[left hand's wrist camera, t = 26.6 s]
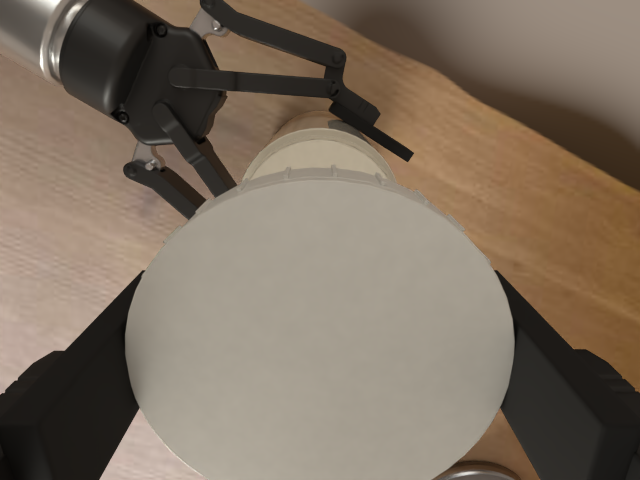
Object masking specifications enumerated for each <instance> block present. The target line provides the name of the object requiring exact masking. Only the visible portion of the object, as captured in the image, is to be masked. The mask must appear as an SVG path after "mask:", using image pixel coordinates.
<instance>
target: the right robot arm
mask: <svg viewBox="0 0 640 480" xmlns="http://www.w3.org/2000/svg"><path fill="white" fill-rule="evenodd" d="M200 5H201V9H200V11H199V12H198V14H197V16H196V17H195V19H194V21H193V22H192V24H191V26H190V27H189V28H187V27H176V26H173V25H172V24H170V23H168V22H167V21H165V20H164V19H162V18H160V17H159V16H157V15H156V14H154V13H153V12H151V11H149V10H148V9H146V8H145V7H143V6H142V5H140V4H138V3H137V2H135V1H134V0H0V54H1V55H3V56H5V57H6V58H8V59H10V60H11V61H13V62H15V63H17V64H18V65H20V66H22V67H23V68H25V69H27V70H29V71H30V72H32V73H34V74H35V75H37V76H39V77H41V78H42V79H44V80H46V81H47V82H49V83H51V84H53V85H54V86H59V87H64V88H65V90H66V91H67V92H68V93H69V94H70V95H72V96H74V97H76V98H77V99H79V100H81V101H82V102H84V103H86V104H88V105H89V106H91V107H93V108H95V109H96V110H98V111H100V112H102V113H103V114H105V115H107V116H108V117H110V118H112V119H114V120H116V121H118V122H119V123H121V124H123V125H125V126H126V127H127V128H128V129H129V130H130V131H131V132H132V133H133V135H134V136H135V138H136V139H137V140H138V143H137V146H136V149H135V152H134V155H133V159H132V161H131V162H129V163H127V164H126V165H125V166H124V168H123V172H124V174H125V176H126V177H128V178H129V179H131V180H134V181H136V182H138V183H141V184H143V185H145V186H148V187H150V188H152V189H153V190H154V191H155V192H157V193H158V194H159V195H160V196H161V197H162V198H164V199H165V200H166V201H167V202H168V203H169V204H171V205H172V206H173V207H174V208H175V209H176V210H178V211H179V212H180V213H181V214H182V215H183V216H184V217H186V218H187V219H188V220H190V219H191V218H192V217H193V216H194V215H195V214H196V212H195V211H196V210H197V209H198V208H199V207H200V206H201V205H202V204H203V203H204V202H205V201H206V199H205V198H204V197H203V196H201V195H200V194H199V193H198V192H197V191H196V190H195V189H194V188H192V187H191V186H190V185H189V184H188V183H187V182H186V181H185V180H183V179H182V178H181V177H180V176H179V175H178V174H177V173H175V172H174V171H173V170H171V169H170V168H168V167H166V166H165V161H164V159H163V158H162V157H161V156H160V155H159V154H158V153H157V151H156V145H168V144H174V145H175V146H176V147H177V149H178V150H179V152H180V153H181V154H182V156H183V157H184V159H185V160H186V161H187V162H188V163H190V164H191V165H192V166H193V167H194V168H195V170H196V171H197V173H198V174H199V176H200V177H201V178H202V180H203V181H204V183H205V184H206V185H207V187H208V188H209V190H210V191H211V192H212V194H213V195H214V197H215V198H216V197H218V196H220V195H221V194H223V193H225V192H227V191H229V190H230V189H232V188H234V187H236V186H237V184H236V183H235V181H234V180H233V178H232V177H231V175H230V174H229V173H228V171H227V170H226V168H225V167H224V165H223V164H222V162H221V161H220V159H219V158H218V156H217V155H216V154H215V152H214V150H213V147H212V145H211V143H210V142H209V140H208V139H207V137H206V136H205V135H207V134H209V132H210V130H211V128H212V126H213V123H214V118H215V114H216V113H217V112H218V110H219V109H220V108H221V107H222V106H223V104H224V103H225V101H226V99H227V97H228V96H226V91H241V92H254V93H267V94H280V95H293V96H307V97H320V98H329V99H331V100H332V101H333V103H332V105H331V106H330V108H329V112H330V113H332V114H333V115H335V116H336V117H338V118H340V119H341V120H343V121H344V122H346V123H347V124H349V125H351V126H352V127H354V128H355V129H357V130H358V131H360V132H361V133H363V134H365V135H366V136H368V137H369V138H371V139H372V140H374V141H375V142H377V143H379V144H380V145H382V146H383V147H385V148H386V149H388V150H389V151H391V152H393V153H394V154H396V155H397V156H399V157H400V158H402V159H403V160H405V161H407V162H408V161H409V160H410V158H411V157H412V155H413V154H414V153H413V152H412V151H411V150H409V149H408V148H406V147H405V146H403V145H402V144H400V143H399V142H397V141H396V140H394V139H393V138H391V137H390V136H388V135H386V134H385V133H383V132H382V131H380V130H379V129H377V128H376V127H374V126H373V125H374V124H375V122H376V120H377V119H378V117H379V116H380V112H379V111H378V109H377V108H376V107H375V106H373V105H372V104H370V103H369V102H367V101H366V100H364V99H363V98H361V97H360V96H358V95H357V94H355V93H354V92H352V91H351V90H349V89H348V88H346V87H345V85H344V83H343V79H342V78H343V72H344V67H345V62H346V54H345V52H344V51H343V50H341V49H340V48H337V47H334V46H331V45H328V44H325V43H323V42H320V41H317V40H314V39H311V38H309V37H306V36H303V35H300V34H297V33H294V32H292V31H289V30H286V29H283V28H280V27H278V26H275V25H272V24H269V23H266V22H264V21H261V20H258V19H255V18H252V17H249V16H247V15H244V14H241V13H238V12H236V11H235V10H234V9H233V8H231V7H230V6H229V5H228V4H227V3H225V2H224V1H223V0H200ZM230 31H232V32H234V33H235V34H237V35H239V36H241V37H243V38H246V39H249V40H252V41H254V42H257V43H260V44H263V45H266V46H269V47H272V48H274V49H277V50H280V51H283V52H286V53H289V54H292V55H294V56H297V57H300V58H303V59H306V60H309V61H312V62H315V63H317V64H320V65H323V66H326V69H325V74H324V79H323V78H310V77H297V76H284V75H271V74H258V73H245V72H233V71H220V70H219V68H218V66H217V64H216V61H215V59H214V57H213V55H212V53H211V51H210V49H209V46H208V44H207V42H206V40H205V39H206V38H207V37H208V36H210V35H216V36H218V37H226V36H228V34H229V33H230Z"/></svg>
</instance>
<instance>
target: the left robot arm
mask: <svg viewBox="0 0 640 480" xmlns="http://www.w3.org/2000/svg"><path fill="white" fill-rule="evenodd" d="M145 271H146V270H142V272H141V273H140V274H139V275H138V276H137V277H136V278H135V279H134V280H133V281H132V282H131V283H130V284H129V285H128V286H127V287H126V288H125V289H124V290H123V291H122V292H121V293H120V294H119V295H118V296H117V297H116V298H115V299H114V300H113V302H112V303H111V304H110V305H109V306H108V307H107V308H106V309H105V310H104V311H103V312H102V313H101V314H100V315H99V316H98V317H97V318H96V319H95V320H94V321H93V322H92V323H91V324H90V325H89V326H88V327H87V328H86V329H85V330H84V332H83V333H82V334H81V335H80V336H79V337H78V338H77V339H76V340H75V341H74V342H73V343H72V344H71V345H70V346H69V347H68V348H67V349H66V350H65V351H53V352H51V353H50V354H48V355H46V356H45V357H43V358H41V359H39V360H38V361H36V362H34V363H33V364H32V365H31V366H30V367H29V368H28V369H27V370H26V371H25V372H24V373H23V374H21V375H20V376H19V377H18V380H17V381H14V382H13V383H12V384H11V385H10V386H9V387H8V388H7V389H6V390H5V393H2V394H1V395H0V480H99V479H100V477H101V476H102V474H103V472H104V470H105V468H106V467H107V465H108V463H109V461H110V459H111V458H112V456H113V454H114V452H115V451H116V449H117V447H118V445H119V443H120V442H121V440H122V438H123V436H124V435H125V433H126V431H127V429H128V427H129V426H130V424H131V422H132V420H133V419H134V417H135V415H136V413H137V411H138V410H139V408H140V407H139V405H138V403H137V401H136V399H135V396H134V393H133V390H132V387H131V383H130V378H129V372H128V367H127V361H126V356H125V332H126V325H127V319H128V312H129V309H130V306H131V303H132V300H133V297H134V294H135V290H136V288H137V286H138V284H139V282H140V281H141V279H142V277H141V276H142V274H143V273H144V272H145ZM494 271H495V273H496V275H497V276H498V279H499V281H500V283H501V285H502V288H503V290H504V292H505V294H506V297H507V300H508V304H509V307H510V311H511V315H512V319H513V328H514V338H515V348H514V359H513V365H512V370H511V375H510V380H509V385H508V389H507V392H506V394H505V397H504V399H503V402H502V405H501V406H500V408H501V410H502V412H503V414H504V415H505V417H506V419H507V421H508V423H509V424H510V426H511V428H512V430H513V431H514V433H515V435H516V437H517V439H518V440H519V442H520V444H521V446H522V448H523V449H524V451H525V453H526V455H527V456H528V458H529V460H530V462H531V464H532V465H533V467H534V469H535V471H536V472H537V474H538V476H539V478H540V480H640V393H639V392H636V391H635V388H634V387H633V386H632V385H631V384H630V383H629V382H627V381H626V380H625V379H622V376H621V375H620V374H619V373H618V372H617V371H616V370H615V369H614V368H613V367H612V366H611V365H610V364H609V363H608V362H606V361H605V360H603V359H601V358H600V357H598V356H596V355H595V354H593V353H591V352H589V351H588V350H586V349H573V348H572V347H571V346H570V345H569V344H568V343H567V342H566V341H565V340H564V339H563V338H562V337H561V336H560V335H559V334H558V333H557V332H556V331H555V330H554V329H553V328H552V327H551V326H550V325H549V324H548V323H547V321H546V320H545V319H544V318H543V317H542V316H541V315H540V314H539V313H538V312H537V311H536V310H535V309H534V308H533V307H532V306H531V305H530V304H529V303H528V302H527V301H526V300H525V299H524V298H523V297H522V296H521V295H520V294H519V293H518V291H517V290H516V289H515V288H514V287H513V286H512V285H511V284H510V283H509V282H508V281H507V280H506V279H505V278H504V277H503V276H502V275H501V274H500V273H499V272H498V271H497V270H494ZM432 480H521V478H520V477H519V476H518V475H516V474H515V473H514V472H512V471H511V470H509V469H507V468H505V467H503V466H500V465H497V464H493V463H488V462H479V461H470V462H461V463H456V464H453V465H452V466H451V467H450V468H448V469H447V470H445V471H444V472H442V473H441V474H439V475H438V476H436V477H435V478H433V479H432Z"/></svg>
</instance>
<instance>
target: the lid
mask: <svg viewBox="0 0 640 480" xmlns="http://www.w3.org/2000/svg"><path fill="white" fill-rule="evenodd" d="M195 212H196V214H195V215H194V216H193V217H192V218H191V219H190V220H189V221H188V222H187V223H186V224H185V225H184V226H183V227H181V226H180V225H179V226H178V227H177V228H176V229H175V230H174V231H173V232H172V233H171V234H170V235H169V236H168V237H167V238H166V239H165V240H164V241H163V242H164V243H165V245H164V246H163V247H162V248H161V249H160V251H159V252H158V254H157V255H156V256H155V258H154V259H153V260H152V262H151V263H150V265H149V266H148V267H147V269H146V271H145V272H144V273H143V274H142V276H141V277H142V279H141V281H140V282H139V284H138V286H137V288H136V290H135V294H134V297H133V300H132V303H131V306H130V309H129V312H128V319H127V325H126V332H125V356H126V361H127V367H128V372H129V378H130V383H131V387H132V390H133V393H134V396H135V399H136V401H137V403H138V405H139V407H140V409H141V411H142V413H143V415H144V417H145V419H146V420H147V422H148V423H149V425H150V426H151V428H152V429H153V431H154V432H155V434H156V435H157V436H158V437H159V438H160V439H161V441H162V442H163V443H164V444H165V445H166V446H167V447H168V449H169V450H170V451H171V452H172V453H174V454H175V455H176V456H177V457H178V458H179V459H180V460H181V461H182V462H184V463H185V464H186V465H187V466H189V467H190V468H191V469H193V470H194V471H196V472H197V473H198V474H200V475H201V476H203V477H204V478H206V479H208V480H432V479H433V478H435V477H436V476H438V475H439V474H441V473H442V472H444V471H445V470H447V469H448V468H450V467H451V466H452V465H453V464H454V463H456V462H457V461H458V460H459V459H460V458H462V457H463V456H464V455H465V454H466V453H467V452H468V451H469V450H470V449H471V448H472V447H473V446H474V445H475V444H476V443H477V441H478V440H479V439H480V438H481V437H482V435H483V434H484V432H485V431H486V430H487V428H488V427H489V426H490V424H491V423H492V421H493V419H494V417H495V416H496V414H497V412H498V410H499V408H500V406H501V405H502V402H503V399H504V397H505V394H506V392H507V389H508V385H509V380H510V375H511V370H512V365H513V359H514V348H515V338H514V328H513V319H512V315H511V311H510V307H509V304H508V300H507V297H506V294H505V292H504V290H503V288H502V285H501V283H500V281H499V279H498V276H497V275H496V273H495V271H494V270H493V268H492V267H491V265H490V263H491V262H490V260H489V259H488V258H487V257H486V256H485V255H484V254H483V253H482V252H481V251H480V250H479V249H478V248H477V247H476V246H475V245H474V243H473V242H472V241H471V240H470V239H469V238H468V237H467V236H466V235H465V234H464V233H463V231H464V230H465V229H464V228H463V227H462V226H461V225H460V224H459V223H458V222H457V221H456V220H455V219H454V218H453V217H452V216H451V215H450V214H449V215H447V216H446V215H445V214H444V213H443V212H441V211H440V210H439V209H438V208H437V207H436V206H434V205H433V204H432V203H431V202H429V201H428V200H427V199H426V198H425V197H424V196H423V194H422V193H421V192H420V191H418V190H417V189H416V190H415V191H414V192H413V191H412V190H410V189H408V188H406V187H404V186H401V185H399V184H397V183H395V182H392V181H390V180H388V179H385V178H382V176H381V175H380V173H377V172H376V173H375V175H371V174H368V173H364V172H359V171H353V170H346V169H340V168H336V165H331V168H302V169H293V170H291V166H289V167H286V170H285V171H281V172H277V173H273V174H268V175H264V176H260V177H258V178H255V179H253V180H250V181H249V180H248V178H246V179H244V180H243V181H242V182H241V184H240V185H238V186H236V187H234V188H232V189H230V190H229V191H227V192H225V193H223V194H221V195H220V196H218V197H216V198H215V199H213V200H211V199H210V198H209V199H208V200H206V201H205V202H204V203H203V204H202V205H201V206H200V207H199V208H198V209H197V210H196V211H195Z"/></svg>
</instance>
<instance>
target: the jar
mask: <svg viewBox="0 0 640 480" xmlns="http://www.w3.org/2000/svg"><path fill="white" fill-rule="evenodd" d="M331 165H336V168H340V169H346V170H353V171H359V172H364V173H368V174H371V175H375V173H376V172H377V173H380V175H381V176H382V178H385V179H388V180H390V181H392V182H395V183H397V181H396V178H395V176H394V174H393V172H392V170H391V168H390V166H389V165H388V163H387V162H386V161H385V159H384V158H383V157H382V155H381V154H380V153H379V152H378V151H377V150H376V148H375V147H374V146H373V145H372V144H371V143H370V142H369V140H368V139H367V138H366V137H365V136H364V135H363V133H361V132H360V131H358V130H357V129H355V128H354V127H352V126H351V125H349V124H347V123H346V122H344V121H343V120H341V119H340V118H338V117H336V116H335V115H333V114H332V113H330V112H329V111H310V112H306V113H303V114H300V115H298V116H296V117H294V118H292V119H291V120H289V121H288V122H287V123H285V124H284V125H283V126H282V127H281V128H280V130H279V131H278V132H277V133H276V134H275V135H274V136H273V138H272V139H271V140H270V141H269V142H268V143H267V145H266V146H265V147H264V148H263V149H262V150H261V151H260V153H259V154H258V155H257V156H256V157H255V158H254V159H253V161H252V162H251V164H250V165H249V167H248V168H247V170H246V172H245V174H244V177H243V179H242V181H243V180H244V179H246V178H248V180H249V181H250V180H253V179H255V178H258V177H260V176H264V175H268V174H273V173H277V172H281V171H285V170H286V167H289V166H291V170H293V169H302V168H331Z"/></svg>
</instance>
